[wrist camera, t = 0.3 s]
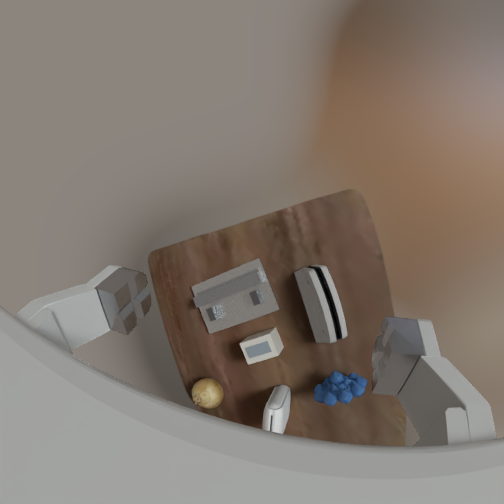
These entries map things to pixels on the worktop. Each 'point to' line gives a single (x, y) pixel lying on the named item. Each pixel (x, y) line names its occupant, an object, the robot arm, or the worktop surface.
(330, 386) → the grapes
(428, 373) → the robot arm
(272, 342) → the block
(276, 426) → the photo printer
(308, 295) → the white toaster
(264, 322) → the worktop surface
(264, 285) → the rail base
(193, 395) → the onion
